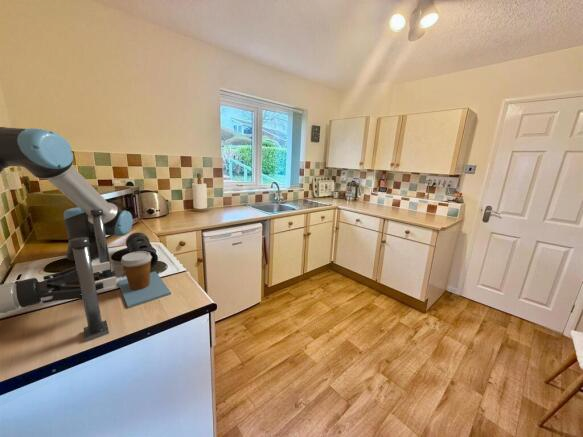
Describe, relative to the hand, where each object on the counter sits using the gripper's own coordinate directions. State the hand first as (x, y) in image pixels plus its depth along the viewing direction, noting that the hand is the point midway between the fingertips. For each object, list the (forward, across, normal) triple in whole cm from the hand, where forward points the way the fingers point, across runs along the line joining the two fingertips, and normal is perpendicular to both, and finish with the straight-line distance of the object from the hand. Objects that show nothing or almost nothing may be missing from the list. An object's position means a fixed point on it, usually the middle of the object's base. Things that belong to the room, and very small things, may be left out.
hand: (113, 272), depth 80 cm
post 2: (-1, -18, -9) cm, 20 cm away
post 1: (-7, +16, -9) cm, 20 cm away
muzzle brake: (+13, -28, -10) cm, 32 cm away
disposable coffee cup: (+7, -2, -9) cm, 12 cm away
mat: (+8, 0, -9) cm, 12 cm away
